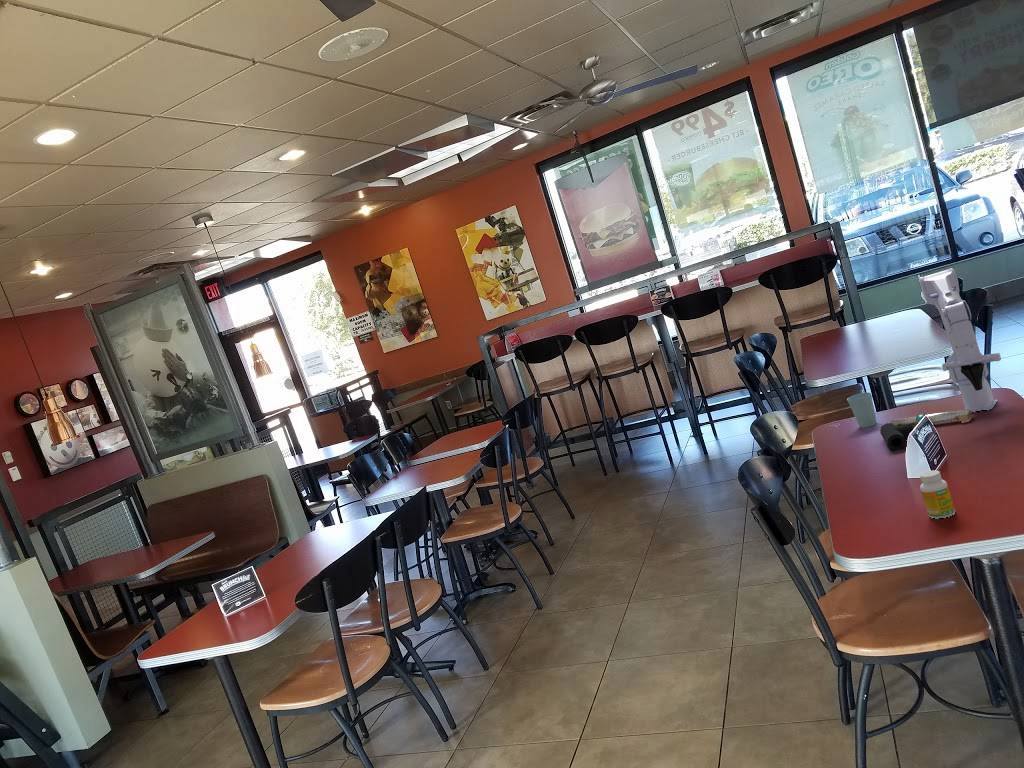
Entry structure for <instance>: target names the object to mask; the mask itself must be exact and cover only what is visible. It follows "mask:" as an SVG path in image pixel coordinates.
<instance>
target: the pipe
mask: <svg viewBox="0 0 1024 768" xmlns="http://www.w3.org/2000/svg"><path fill="white" fill-rule="evenodd" d="M923 416H927V417H929V419H930V420H931V421H932V423H933V424H932V425H934V424H935V423H936V424H940V423H939V422H943V423H945V422H944V421H950V422H953V421H952V420H958V421H959V422H960V421H966V420H969V419H970V418H971V417H972V416H973V417H974V414H973V413H972V411H971V410H969V409H965V408H964V409H956V410H952V411H951V410H950V411H944V412H937V413H931V414H926V413H925V414H918V415H916V416H910V417H904V418H903V417H902V418H897V419H890V421H889V423H892V424H894V425H896V426H897V427H898V426H902V425H906V424H909V423H913V422H915V421H917V422H918V421H920V419H921V418H922V417H923ZM936 424H935V425H936Z"/></svg>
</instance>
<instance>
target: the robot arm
mask: <svg viewBox="0 0 1024 768" xmlns="http://www.w3.org/2000/svg"><path fill="white" fill-rule="evenodd" d="M919 285H920V288H921V291H922V294H923V296H924V300H925V302H927V304H928V305H932V306H933V305H934V306H935V308H936V309H937V310H938V312H939V315H940V319H941V321H942V323H943V326H944V330H945V332H946V335H947V337H948V341H949V344H950V347H951V350H952V353H951V354H950V355H949V356H948V358H947V359H946V362H944V363H943V364H941V366H942V370H943V372H945V371H946V372H947V371H948V374H949V377H950V379H951V382H952V383H953V384H954V385H956V384H957V386H958V389H959V391H960V392H959V393H960V395H961V398H962V402H963V405H964V409H969V410H971V411H980V410H987V411H991V410H992V409H993V407H994V406H995V405H996V404H997V403H996V402H998V399H994V396H993V394H992V390H991V386H990V383H989V381H988V380H987V379H986V377H988V375H989V369H988V366H987V364H988V363H993V362H1000V361H1001V360H1002V358H1001V357H1002V356H1001V353H1000V352H996V353H987V354H982V352H981V351H980V347H979V344H978V341H977V338H976V333H975V331H974V328H973V325H972V322H971V321H972V313H971V309H970V307H969V305H968V304H967V302H966V300H963V299H962V297H961V296H960V287H959V280H958V275H957V273H956V271H955V269H954V268H952V267H950V268H948V269H945V270H941V271H938V272H935V273H932V274H929V275H925V276H920V278H919ZM990 409H991V410H990ZM980 412H981V411H980Z"/></svg>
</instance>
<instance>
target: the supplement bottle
mask: <svg viewBox="0 0 1024 768" xmlns="http://www.w3.org/2000/svg"><path fill="white" fill-rule="evenodd" d="M919 478H920V480H921V482H922V483H921V484H920V486H919V488H920V492H921V495H922V499H923V501H924V505H925V507H926V511H927V512H926V513H927V514H928V517H929V518H930V517H931V518H930V519H933V518H935V519H934V520H940V519H939V518H944V519H947V518H946V517H948V518H951V517H952V515H953V516H954V515H955V514H956V513H955V512H956V511H957V510H956V507H955V505H954V502H953V501H954V500H953V498H952V494H951V491H950V488H949V486H948V483H947V481H946V480H944V479H942V475H941V472H940V470H927V471H924V472H922V473H920V475H919ZM950 516H951V517H950Z"/></svg>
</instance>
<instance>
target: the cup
mask: <svg viewBox="0 0 1024 768" xmlns="http://www.w3.org/2000/svg"><path fill="white" fill-rule="evenodd" d="M846 400H847V402H848V405H849V407H850V409H851V411H852V413H853V417H854V418H855V420H856V422H857V424H858V428H860V427H861V429H862V428H863V429H865V428H870V427H872V426H875V425H877V418H876V417H877V416H876V412H875V407H874V402H873V397H872V393H871V392H861V393H857V394H853V395H851V396H849V397H848V398H846Z"/></svg>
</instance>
